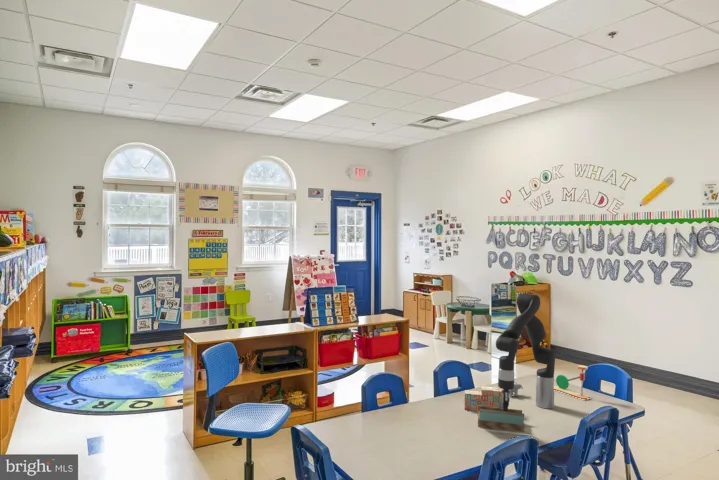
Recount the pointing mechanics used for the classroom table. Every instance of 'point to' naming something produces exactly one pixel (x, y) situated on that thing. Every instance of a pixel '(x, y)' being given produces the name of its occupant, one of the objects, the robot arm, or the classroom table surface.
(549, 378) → the robot arm
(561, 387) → the crank mechanism
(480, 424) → the cart bed
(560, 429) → the classroom table surface
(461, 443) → the classroom table surface
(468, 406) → the stack of blocks
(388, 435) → the classroom table surface
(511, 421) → the tailgate
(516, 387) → the gray elephant figurine
